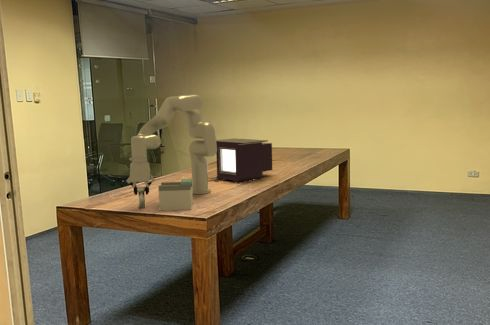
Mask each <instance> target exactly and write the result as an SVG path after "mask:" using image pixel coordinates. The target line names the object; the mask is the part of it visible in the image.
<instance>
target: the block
mask: <svg viewBox="0 0 490 325" xmlns="http://www.w3.org/2000/svg"><path fill="white" fill-rule="evenodd" d="M180 182H181V181H167V182H166V181H165V182H161V184H160V185H158V187H157V188H158V203H159V204H158V205H159V211H183V210H185V211H188V210H192V208H193V205H194V198H193V197H194V196H193V195H194V194H193V192H192V182H191V184H190V185H180Z"/></svg>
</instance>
